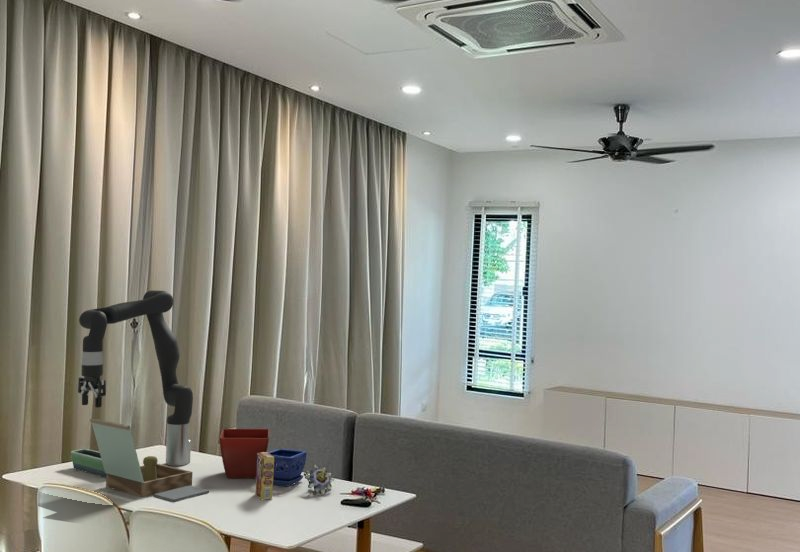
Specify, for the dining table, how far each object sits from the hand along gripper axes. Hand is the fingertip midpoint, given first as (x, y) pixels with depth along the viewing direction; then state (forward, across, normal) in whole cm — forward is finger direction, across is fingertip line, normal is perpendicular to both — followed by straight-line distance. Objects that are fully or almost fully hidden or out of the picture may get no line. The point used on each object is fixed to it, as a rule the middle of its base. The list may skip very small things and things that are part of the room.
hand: (91, 406), depth 289 cm
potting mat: (+29, -38, -12) cm, 50 cm away
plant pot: (+30, -33, -47) cm, 65 cm away
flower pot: (+30, -54, -48) cm, 79 cm away
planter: (+30, +14, -12) cm, 35 cm away
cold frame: (+30, -19, -12) cm, 37 cm away
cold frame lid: (+13, -20, +2) cm, 24 cm away
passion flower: (+30, -72, -48) cm, 92 cm away
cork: (+30, -19, -12) cm, 38 cm away
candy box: (+30, -62, -30) cm, 75 cm away
